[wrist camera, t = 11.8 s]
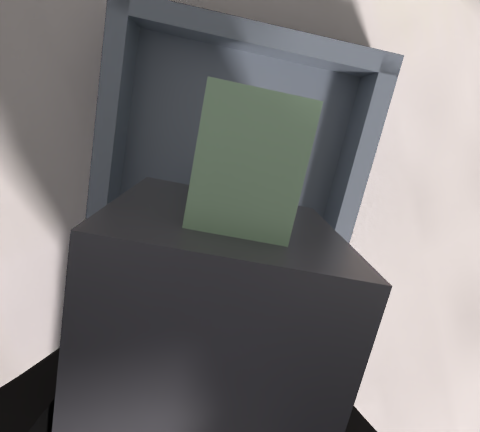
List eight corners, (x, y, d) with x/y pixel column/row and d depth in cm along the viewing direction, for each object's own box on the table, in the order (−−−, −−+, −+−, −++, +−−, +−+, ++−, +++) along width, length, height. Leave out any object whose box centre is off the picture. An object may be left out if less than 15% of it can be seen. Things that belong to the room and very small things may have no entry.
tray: (79, 438, 16) (59, 481, 14) (127, 7, 12) (108, -14, 10) (267, 461, 17) (272, 505, 15) (376, 64, 13) (403, 55, 11)
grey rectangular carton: (159, 83, 9) (88, 41, 4) (335, 120, 10) (445, 119, 5) (112, 422, 12) (32, 635, 7) (253, 441, 12) (272, 654, 7)
